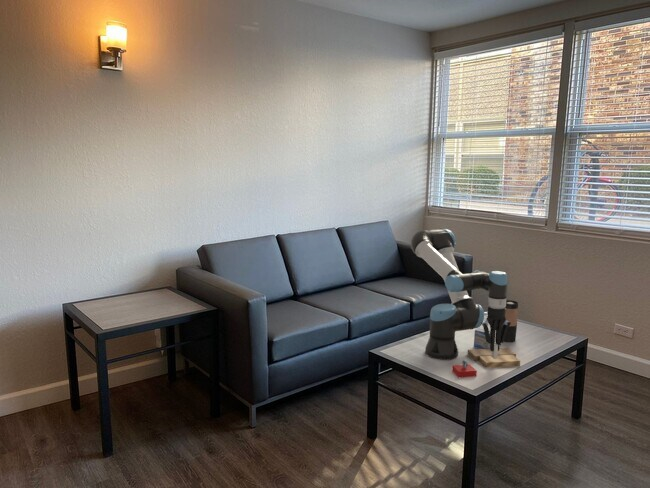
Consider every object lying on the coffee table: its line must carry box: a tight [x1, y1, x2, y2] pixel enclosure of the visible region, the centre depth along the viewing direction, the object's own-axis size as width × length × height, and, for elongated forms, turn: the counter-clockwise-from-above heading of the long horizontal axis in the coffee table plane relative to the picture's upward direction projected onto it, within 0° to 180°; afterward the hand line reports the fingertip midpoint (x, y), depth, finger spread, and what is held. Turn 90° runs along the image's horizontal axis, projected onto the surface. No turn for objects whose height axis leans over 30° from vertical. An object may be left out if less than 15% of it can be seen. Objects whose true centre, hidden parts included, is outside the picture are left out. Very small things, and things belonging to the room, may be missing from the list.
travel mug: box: [501, 299, 519, 343], centre depth 259 cm, size 8×8×20 cm
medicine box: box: [473, 327, 490, 349], centre depth 250 cm, size 8×4×9 cm, turn 47°
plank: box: [478, 355, 521, 369], centre depth 231 cm, size 16×7×2 cm, turn 97°
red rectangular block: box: [451, 359, 478, 378], centre depth 220 cm, size 8×7×6 cm
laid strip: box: [467, 347, 517, 362], centre depth 239 cm, size 20×8×2 cm, turn 97°
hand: (494, 357), depth 228 cm, fingers closed
